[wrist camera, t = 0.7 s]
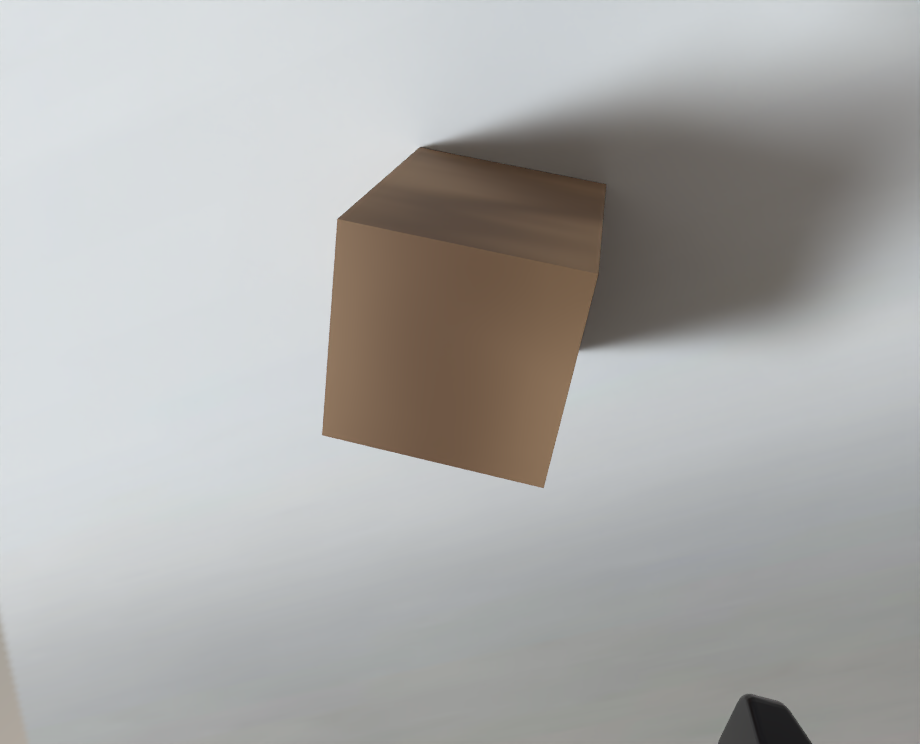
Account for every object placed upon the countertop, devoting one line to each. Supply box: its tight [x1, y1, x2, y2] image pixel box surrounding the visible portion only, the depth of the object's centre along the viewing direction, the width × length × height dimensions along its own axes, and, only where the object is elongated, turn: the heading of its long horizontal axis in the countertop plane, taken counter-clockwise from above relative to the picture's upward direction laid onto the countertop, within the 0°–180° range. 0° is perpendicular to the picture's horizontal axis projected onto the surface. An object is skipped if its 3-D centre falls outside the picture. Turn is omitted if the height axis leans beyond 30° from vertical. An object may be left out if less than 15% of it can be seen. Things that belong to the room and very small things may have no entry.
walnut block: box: [322, 147, 606, 488], centre depth 16 cm, size 4×4×6 cm
